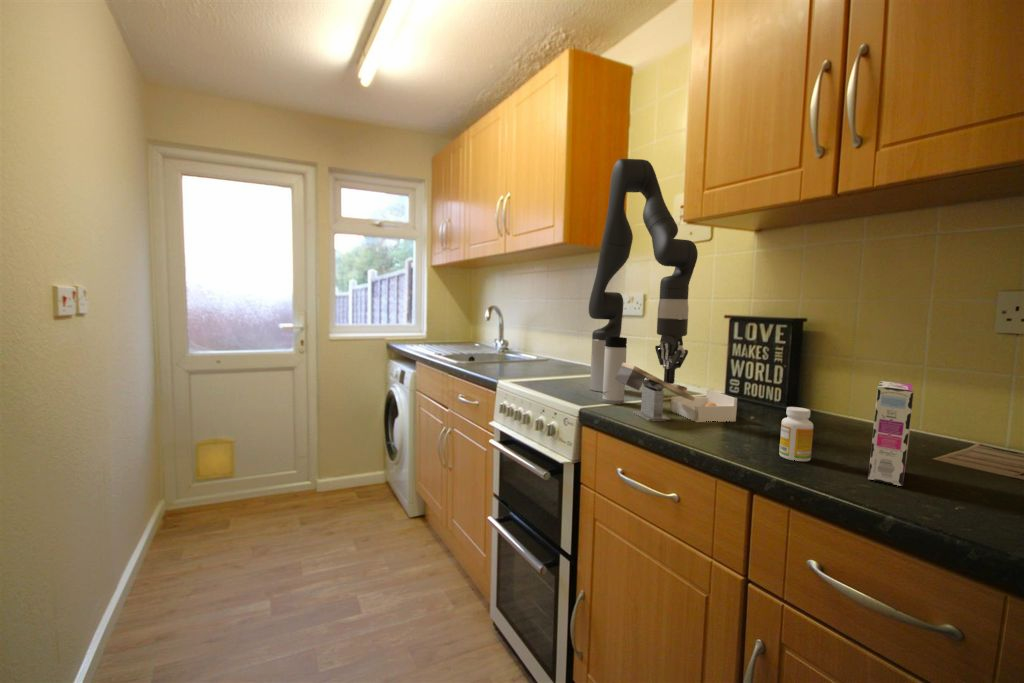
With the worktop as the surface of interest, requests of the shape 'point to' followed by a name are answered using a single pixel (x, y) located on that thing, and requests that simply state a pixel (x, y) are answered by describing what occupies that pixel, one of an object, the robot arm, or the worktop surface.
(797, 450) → the supplement bottle
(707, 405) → the ball
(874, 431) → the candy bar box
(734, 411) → the tray
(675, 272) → the robot arm
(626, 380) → the lever
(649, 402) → the fulcrum
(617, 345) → the travel mug
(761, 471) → the worktop surface
